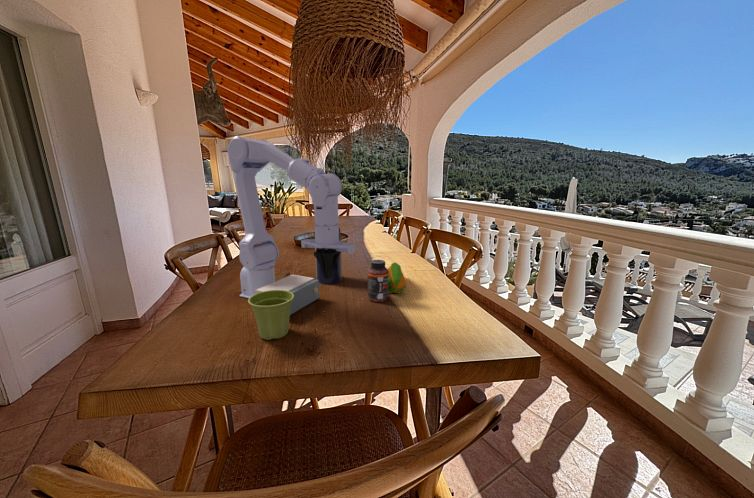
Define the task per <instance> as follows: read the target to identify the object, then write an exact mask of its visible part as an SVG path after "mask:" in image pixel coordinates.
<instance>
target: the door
mask: <svg viewBox="0 0 754 498" xmlns="http://www.w3.org/2000/svg"><path fill="white" fill-rule="evenodd" d="M316 279H317V278H316ZM316 279H315V278H314V280H313V281H311V282H309V283H307V284H305V285H303V286H301V287H299V288H297V289H295V290H293V291H291V292H292V293H293V294H294V298H293V300H292V304H291V308H290V316H291V315H293V314H295V313H296V312H298V311H300V310H301V309H303V308H305V307H306V306H308V305H310V304H312V303H313V302H314V301H315V302H316V301H317V300H318V299H320V283H319V280H316Z"/></svg>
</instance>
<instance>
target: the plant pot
mask: <svg viewBox="0 0 754 498" xmlns="http://www.w3.org/2000/svg"><path fill="white" fill-rule="evenodd" d="M293 298H294V294H293V293H292V292H289V291H286V290H269V291H263V292H260V293H257V294H254V295H252V296H251V297H250V298H247V299H248V300H247V302H248V304H249V306H250V307H251V309H252V312H253V314H254V318H255V322H256V326H257V331H258V335H259V337H260V338H261V339H262V340H267V341H268V340H269V341H270V340H273V339H281V338H283V337H286V336H287V334H288V332H289V329H290V328H289V327H290V317H291V315H290V308H291V304H292V300H293Z"/></svg>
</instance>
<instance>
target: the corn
mask: <svg viewBox="0 0 754 498" xmlns="http://www.w3.org/2000/svg"><path fill="white" fill-rule="evenodd" d="M387 269H388V294H393V293H397V294H399V293H401V292H402V291H403V290H405V289H406V279H405V276H404V273H403V271H402V267H401V266H400V264H399V263H397V262H396V261H395V262H392V263H391V265H390V266H389V267H388V268H387Z"/></svg>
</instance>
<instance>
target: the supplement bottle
mask: <svg viewBox="0 0 754 498" xmlns="http://www.w3.org/2000/svg"><path fill="white" fill-rule="evenodd" d="M370 266H371V267H369V268H368V269H367V298H368V300H369V301H371V302H374V303H383V302H386V301H387V300H388V297H389V292H388V268H387V267H386V261H385V259H384V260H383V259H373V260H371V261H370Z"/></svg>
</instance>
